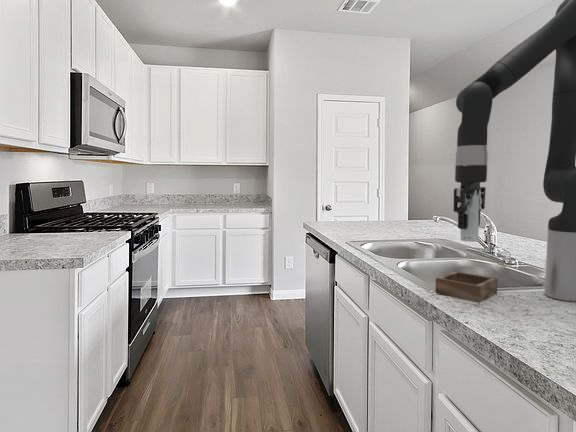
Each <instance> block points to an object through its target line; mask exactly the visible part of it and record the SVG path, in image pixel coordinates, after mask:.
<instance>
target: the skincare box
mask: <svg viewBox="0 0 576 432" xmlns="http://www.w3.org/2000/svg"><path fill="white" fill-rule="evenodd" d="M470 196H471V195H470ZM469 200H470V199H467V198H466V196H465V202H469ZM465 207H466V206H465ZM466 215H468V228H467V229H460V241H461V242H469V243H470V242H471V243H472V242H475V243H477V242H479V227H480V225H479V195H478V194H476V195H473V204H472V206H471V207H470V208H469V211H468V214H466Z"/></svg>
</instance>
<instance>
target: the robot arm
mask: <svg viewBox="0 0 576 432" xmlns="http://www.w3.org/2000/svg"><path fill="white" fill-rule="evenodd" d="M555 11H556V12H555V14H554V16H553V17H552V18H551V19H550V20H549V21H547V23H545V24H544V25H543V26H542V27H540V28H538V30H536V31H535V32H533V34H531V35H530V36H528V37H527V38H526V39H524V40H523V41H522V42H521V43H518V44H517V45H516V46H515V47H513V48H512V49H511V50H509V52H507V53H506V54H505V55H503V56H502V57H501V58H499V60H497V61H496V62H495V63H494V64H492V66H491V67H490V68H489V69H487V70H486V72H484V73H483V74H482V75H481V76H479V77H477V78H476V79H475V80H474V81H472V82H471V83H470V84H469V85H466V86H465V88H463V89H462V90H461V91H459V92H458V95H457V96H456V100H455V106H456V108H457V110H458V111H459V112H460V113H461V123H460V124H459V126H458V129H457V139H456V152H455V153H456V154H455V169H454V181H455V183H460V186H459V187H458V188H456V187H455V188H454V189H453V212H454V213H457V228H458V229H460V230H461V229H467V228H468V215H466V214H468V211H469V208H470V207H471V206H472V204H473V195H476V194H478V195H479V226H480V224H481V213H482V210H484V209H485V208H486V207H485V206H486V187H485V186H481V183H486V182H487V181H488V160H489V159H488V157H489V156H488V154H489V153H488V126H489V122H490V118H491V115H492V114H491V113H492V107H493V100H494V99H495V98H496V97H497V96H499V95H500V94H501V93H502V92H505V91H506V90H508V89H509V88H511V87H512V86H514V85H515V84H516V83H517V82H519V80H520V81H521V79H523V77H525V76H526V75H527V74H529V72H530V71H531V72H532V70H533V69H534V68H535V67H537V66H538V65H539V64H540V63H541V62H542V61H543V60H545V59H546V58H547V57H548V56H549V55H551V54H552V53H553V52H554V51H555V64H554V72H553V73H554V76H553V90H552V101H551V102H552V103H551V125H550V133H549V146H548V153H547V159H546V162H545V163H546V164H545V169H544V175H543V185H542V187H543V192H544V195H545V196H546V198H547V199H548V200H550V201H551V202H554V203H562V208H561V211H560V212H559V214H557V215H556V216H552V217H551V218H549V220H548V224H547V236H546V237H547V242H546V259H545V260H546V261H545V276H544V277H545V278H544V292H543V294H544V295H545V296H546V297H549V298H553V299H555V300H559V301H567V302H576V0H563V1H562V2H561V3H560V4H559V6H558V7H557V9H556V10H555ZM470 195H471V196H470ZM465 196H466V198H467V199H470V200H469V202H465ZM465 206H466V207H465Z"/></svg>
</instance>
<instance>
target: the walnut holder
mask: <svg viewBox="0 0 576 432" xmlns="http://www.w3.org/2000/svg"><path fill="white" fill-rule="evenodd" d="M434 292H435V294H439V295H444V296H448V297H453V298H458V299H462V300H466V301H470V302H474V303H480V302H482V301H485V300H486V299H488V298H490V297H493V296H494V295H497V293H498V278H497V277H491V276H485V275H479V274H472V273H470V272H469V273H468V272H461V271H457V270H455V271H453V272H449V273H447V274H444V275H441V276H438V277H436V278H435V291H434Z"/></svg>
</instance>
